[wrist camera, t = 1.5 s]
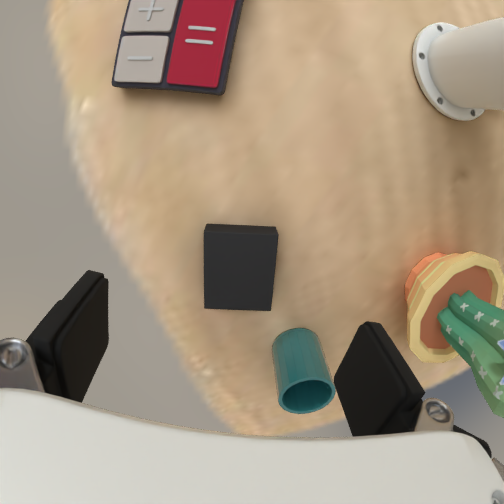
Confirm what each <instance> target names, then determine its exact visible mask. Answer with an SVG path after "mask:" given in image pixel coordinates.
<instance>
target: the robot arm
mask: <svg viewBox="0 0 504 504" xmlns="http://www.w3.org/2000/svg"><path fill="white" fill-rule="evenodd" d="M412 59H413V67H414V71H415V75H416V78H417V80H418V83H419V85H420V87H421V89H422V91H423V93H424V94H425V96H426V97H427V99H428V100H429V101H430V103H431V104H432V105H433V106H434V107H435V108H436V109H437V110H438V111H440V112H441V113H442V114H444V115H445V116H447V117H450V118H452V119H456V120H464V121H468V120H473V119H475V118H477V117H479V116H480V115H481V114H482V113H483V112H484V111H485V109H491V110H504V17H501V18H497V19H493V20H489V21H485V22H481V23H478V24H474V25H471V26H467V27H464V28H458V27H456V26H454V25H451V24H448V23H434V24H431V25H429V26H427V27H425V28H424V29H422V30H421V31H420V32H419V34H418V35H417V37H416V39H415V42H414V46H413V55H412ZM108 336H109V334H108V279H106V278H104V274H103V273H99V272H95V271H90V270H88V271H87V272H86V273H85V274H84V275H83V276H82V277H81V278H80V279H79V281H78V282H77V283H76V284H75V285H74V286H73V287H72V289H71V290H70V291H69V292H68V293H67V294H66V295H65V297H64V298H63V299H62V300H59V301H58V302H57V303H56V304H55V305H54V307H53V308H52V309H51V310H50V311H49V312H48V314H47V315H46V316H45V317H44V318H43V320H42V321H41V322H40V323H39V325H38V326H37V327H36V328H35V330H34V331H33V332H32V333H31V335H30V336H29V337H28V338H27V340H26V341H24V340H22V339H18V338H6V339H3V340H0V504H504V465H503V464H502V463H500V462H499V461H498V460H497V459H496V458H493V459H492V460H491V450H490V448H489V446H488V444H487V443H486V442H485V441H484V440H481V439H479V438H478V437H476V436H474V435H472V434H470V433H468V432H466V431H464V430H463V429H461V428H459V427H457V426H455V425H453V424H454V414H453V412H452V410H451V408H450V407H449V406H448V405H447V404H446V403H444V402H443V401H441V400H439V399H436V398H428V399H426V400H425V401H424V402H423V401H422V399H421V398H422V397H423V395H424V394H425V391H424V390H423V388H422V386H421V385H420V383H419V382H418V380H417V378H416V377H415V375H414V374H413V372H412V371H411V369H410V367H409V366H408V364H407V363H406V361H405V360H404V358H403V357H402V355H401V354H400V352H399V350H398V349H397V347H396V346H395V344H394V343H393V341H392V340H391V338H390V337H389V335H388V334H387V332H386V331H385V329H384V328H383V327H382V325H381V324H380V323H376V322H368V321H367V322H365V323H364V324H363V325H360V326H359V328H358V330H357V332H356V334H355V336H354V338H353V340H352V342H351V344H350V346H349V348H348V350H347V352H346V354H345V356H344V358H343V360H342V362H341V364H340V366H339V368H338V370H337V372H336V374H335V376H334V385H335V388H336V390H337V393H338V396H339V399H340V402H341V404H342V407H343V410H344V413H345V416H346V418H347V421H348V424H349V427H350V430H351V433H352V435H353V437H323V438H310V437H307V438H306V437H274V436H258V435H246V434H235V433H226V432H218V431H217V432H216V431H209V430H202V429H195V428H189V427H183V426H177V425H172V424H166V423H161V422H156V421H151V420H147V419H142V418H138V417H134V416H130V415H125V414H120V413H117V412H113V411H109V410H105V409H102V408H98V407H94V406H91V405H88V404H84V403H82V401H83V399H84V396H85V394H86V392H87V389H88V387H89V385H90V383H91V381H92V379H93V376H94V374H95V372H96V370H97V368H98V366H99V363H100V361H101V359H102V357H103V355H104V353H105V351H106V349H107V345H108V340H109V337H108Z"/></svg>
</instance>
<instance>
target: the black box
mask: <svg viewBox="0 0 504 504" xmlns="http://www.w3.org/2000/svg"><path fill="white" fill-rule="evenodd" d="M277 245H278V232H277V229H276V227H268V226H247V225H223V224H206V227H205V230H204V308H206V309H228V310H256V311H271V305H272V295H273V285H274V276H275V266H276V255H277Z"/></svg>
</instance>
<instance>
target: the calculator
mask: <svg viewBox="0 0 504 504" xmlns="http://www.w3.org/2000/svg"><path fill="white" fill-rule="evenodd" d="M243 2H244V0H129V2H128V6H127V10H126V14H125V18H124V22H123V26H122V30H121V35H120V39H119V44H118V49H117V54H116V60H115V65H114V71H113V77H112V85H113V86H114V87H120V88H138V89H159V90H173V91H185V92H195V93H205V94H213V95H223V94H224V92H225V88H226V82H227V77H228V72H229V67H230V62H231V57H232V52H233V47H234V42H235V37H236V32H237V28H238V23H239V19H240V14H241V10H242V5H243Z"/></svg>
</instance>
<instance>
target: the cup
mask: <svg viewBox="0 0 504 504" xmlns="http://www.w3.org/2000/svg"><path fill="white" fill-rule="evenodd" d="M272 357H273V364H274V372H275V380H276V388H277V396H278V402H279V405H280V406H281V407H282V408H283V409H284V410H286V411H288V412H290V413H296V414H305V413H311V412H315V411H317V410H319V409H322V408H323V407H325V406H326V405H328V404H329V403H330V402H331V400H332V399H333V398H334V395H335V392H336V391H335V385H334V382H333V379H332V376H331V373H330V370H329V367H328V364H327V361H326V357H325V354H324V351H323V348H322V345H321V342H320V340H319V338H318V336H317V335H316V334H315V333H314V332H312V331H311V330H308V329H304V328H295V329H290V330H288V331H285V332H283V333H282V334H280V335H279V336H278V337H277V338H276V339H275V341H274V343H273V345H272Z"/></svg>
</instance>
